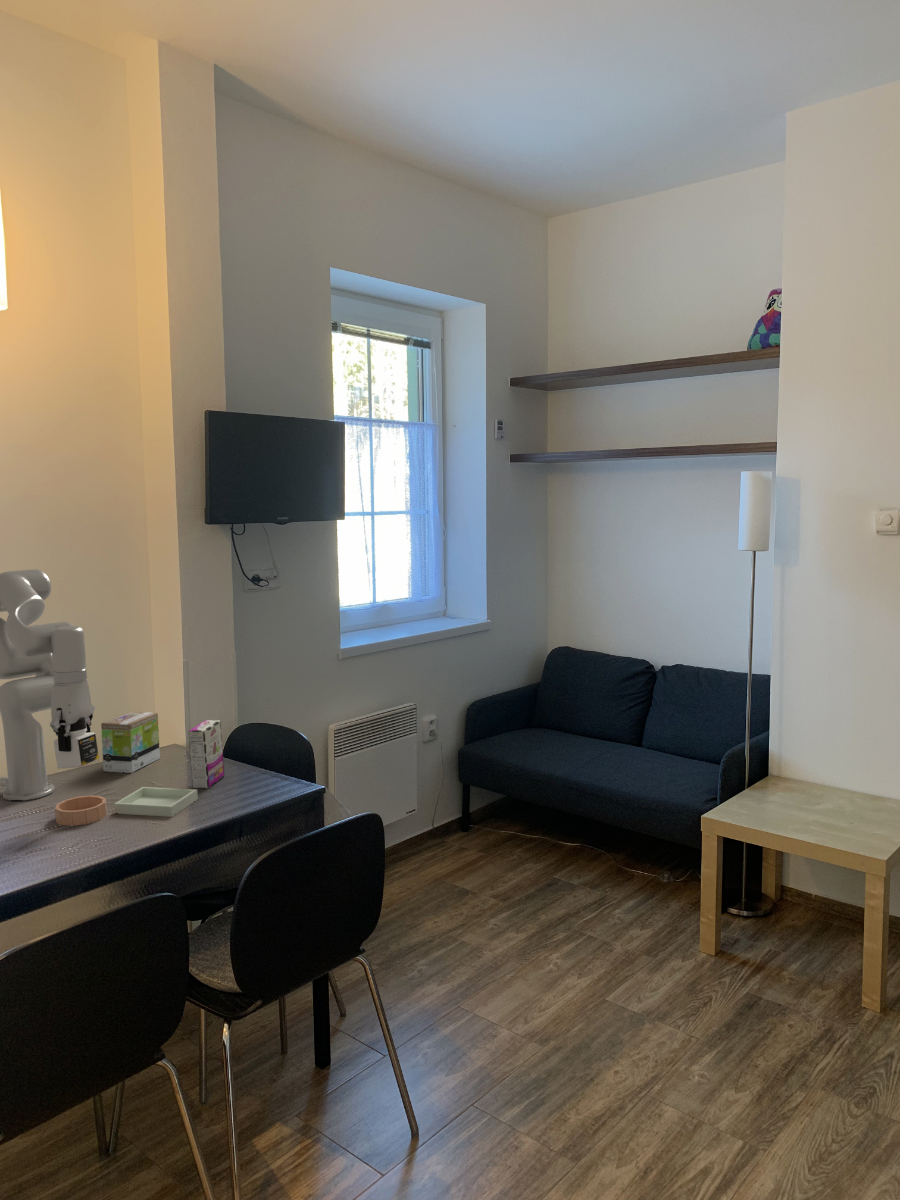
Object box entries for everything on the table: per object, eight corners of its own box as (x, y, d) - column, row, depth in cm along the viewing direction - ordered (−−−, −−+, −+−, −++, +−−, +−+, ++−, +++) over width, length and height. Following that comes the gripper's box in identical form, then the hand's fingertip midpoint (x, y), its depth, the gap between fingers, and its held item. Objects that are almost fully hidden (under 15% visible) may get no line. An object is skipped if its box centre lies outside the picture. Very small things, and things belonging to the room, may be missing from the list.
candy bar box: (208, 775, 258) (204, 719, 256) (225, 776, 257) (221, 719, 255) (191, 788, 247) (187, 730, 245) (208, 789, 246) (204, 730, 244)
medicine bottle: (82, 767, 221) (75, 718, 220) (56, 768, 223) (49, 720, 222) (99, 759, 228) (93, 712, 227) (75, 761, 229) (68, 714, 229)
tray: (114, 813, 229) (114, 803, 228) (143, 796, 241) (142, 786, 241) (172, 816, 225) (171, 806, 225) (197, 799, 238) (197, 789, 237)
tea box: (133, 773, 262) (129, 723, 260) (102, 772, 264) (99, 722, 262) (161, 758, 276) (158, 711, 275) (132, 757, 279) (128, 710, 277)
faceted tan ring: (46, 824, 223) (45, 810, 222) (75, 807, 234) (74, 794, 233) (88, 826, 220) (87, 812, 220) (115, 810, 231) (114, 796, 231)
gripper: (78, 668, 232) (83, 736, 234) (33, 683, 215) (38, 756, 218) (104, 669, 230) (109, 737, 233) (61, 685, 213) (66, 757, 216)
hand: (75, 746), depth 225 cm, fingers closed on medicine bottle, 7 cm apart
